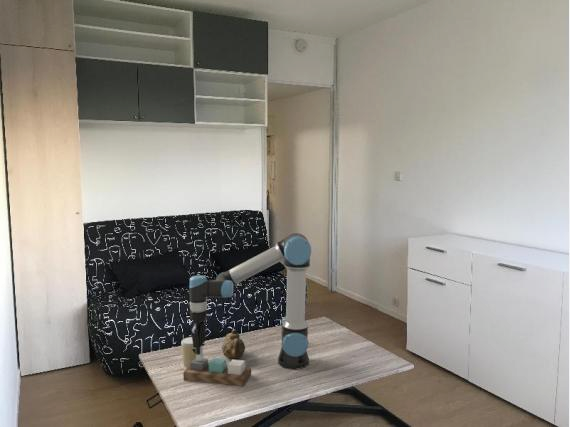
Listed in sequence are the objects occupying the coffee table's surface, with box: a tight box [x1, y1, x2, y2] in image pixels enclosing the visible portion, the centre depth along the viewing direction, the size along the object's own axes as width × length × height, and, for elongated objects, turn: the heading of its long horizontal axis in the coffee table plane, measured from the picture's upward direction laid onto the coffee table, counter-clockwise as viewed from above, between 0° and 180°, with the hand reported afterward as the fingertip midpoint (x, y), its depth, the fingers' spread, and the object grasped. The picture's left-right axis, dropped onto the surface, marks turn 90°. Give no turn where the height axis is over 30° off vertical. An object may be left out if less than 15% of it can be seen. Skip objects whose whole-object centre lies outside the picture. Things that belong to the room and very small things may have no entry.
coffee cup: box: [180, 336, 196, 368], centre depth 228 cm, size 9×9×12 cm
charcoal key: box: [190, 357, 209, 371], centre depth 215 cm, size 6×6×5 cm
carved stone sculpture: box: [221, 328, 246, 360], centre depth 234 cm, size 21×12×15 cm, turn 18°
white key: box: [228, 359, 246, 375], centre depth 211 cm, size 6×6×5 cm
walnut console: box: [183, 362, 252, 388], centre depth 213 cm, size 28×12×4 cm, turn 77°
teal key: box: [208, 357, 227, 373], centre depth 213 cm, size 6×6×5 cm
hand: (199, 360), depth 215 cm, fingers closed
